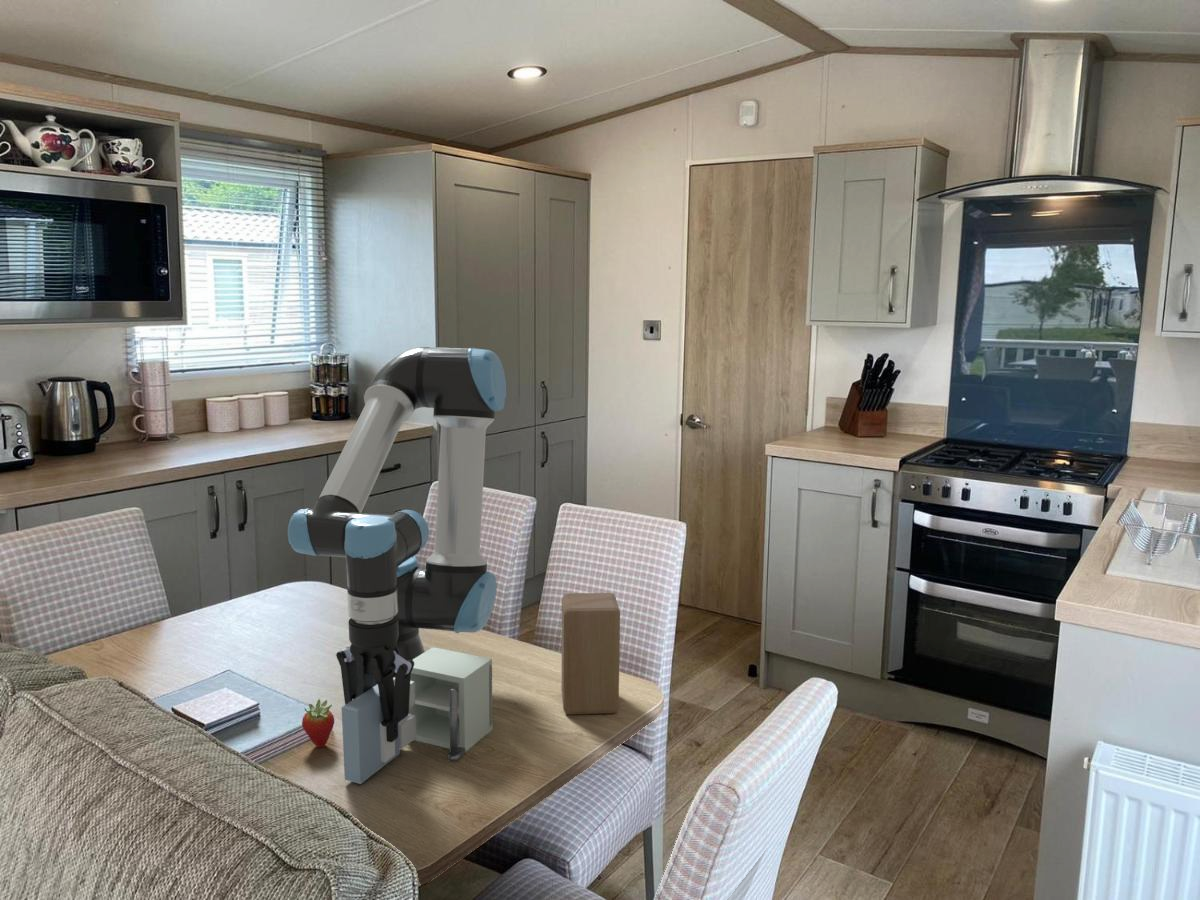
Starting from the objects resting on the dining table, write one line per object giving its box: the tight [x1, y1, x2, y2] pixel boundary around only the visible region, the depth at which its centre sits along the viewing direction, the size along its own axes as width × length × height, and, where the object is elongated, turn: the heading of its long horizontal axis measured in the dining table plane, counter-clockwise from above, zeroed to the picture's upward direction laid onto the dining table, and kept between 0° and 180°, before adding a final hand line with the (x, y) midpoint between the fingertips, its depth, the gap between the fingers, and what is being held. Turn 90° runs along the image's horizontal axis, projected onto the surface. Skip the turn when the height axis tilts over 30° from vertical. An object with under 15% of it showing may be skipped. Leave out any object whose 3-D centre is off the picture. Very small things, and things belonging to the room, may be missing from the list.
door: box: [341, 677, 416, 785], centre depth 149 cm, size 4×14×12 cm, turn 156°
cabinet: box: [409, 646, 493, 753], centre depth 160 cm, size 12×9×13 cm
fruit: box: [301, 698, 335, 748], centre depth 155 cm, size 5×5×8 cm
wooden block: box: [561, 592, 621, 715], centre depth 171 cm, size 10×10×20 cm
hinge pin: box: [447, 689, 466, 763], centre depth 152 cm, size 2×4×12 cm, turn 156°
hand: (378, 755), depth 149 cm, fingers closed on door, 3 cm apart
